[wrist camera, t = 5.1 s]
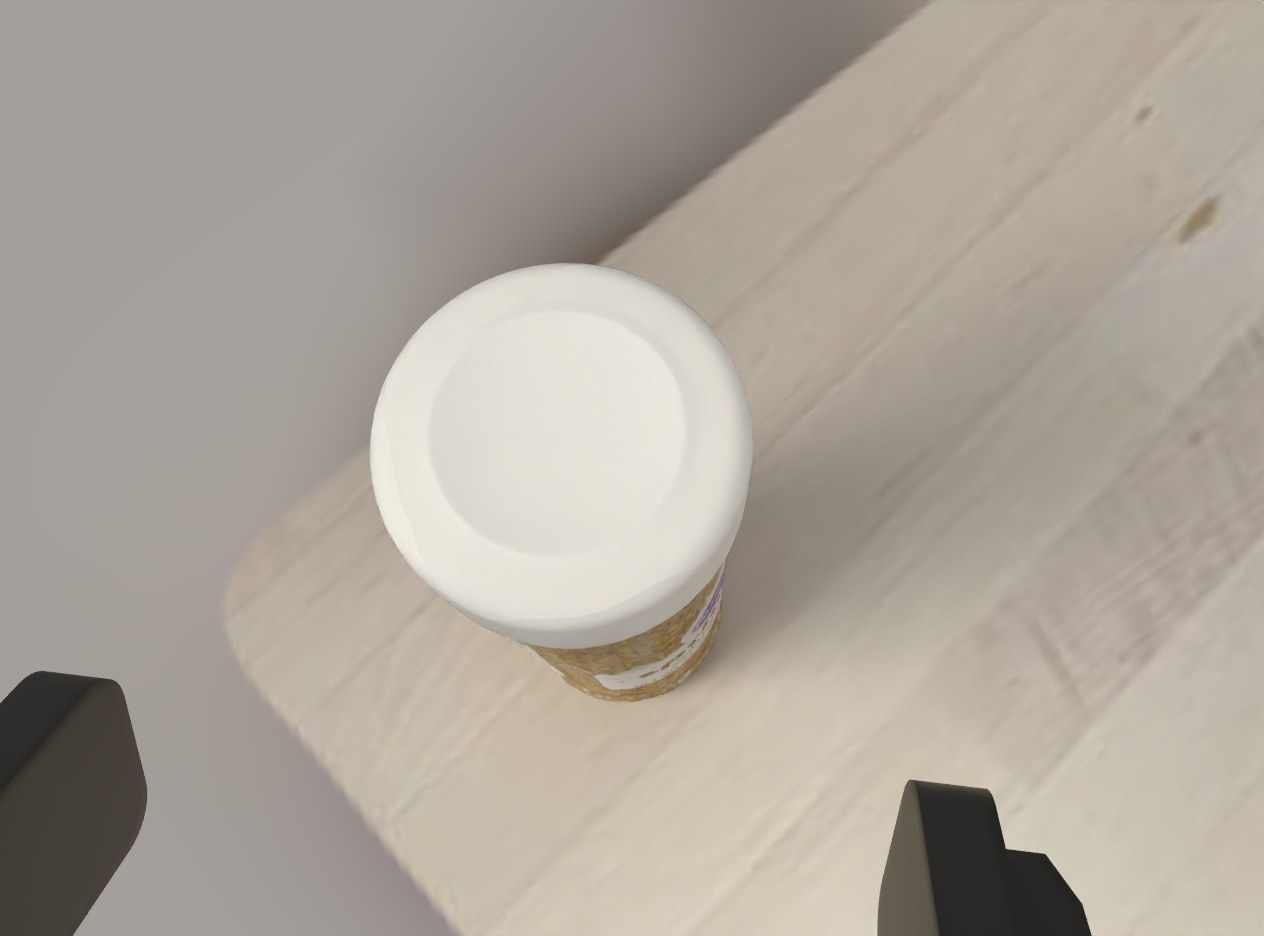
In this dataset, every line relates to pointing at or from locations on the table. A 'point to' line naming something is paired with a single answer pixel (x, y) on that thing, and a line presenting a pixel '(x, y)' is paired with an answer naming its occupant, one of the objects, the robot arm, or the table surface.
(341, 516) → the table surface
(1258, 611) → the table surface
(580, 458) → the spice jar
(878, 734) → the table surface
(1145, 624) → the table surface
